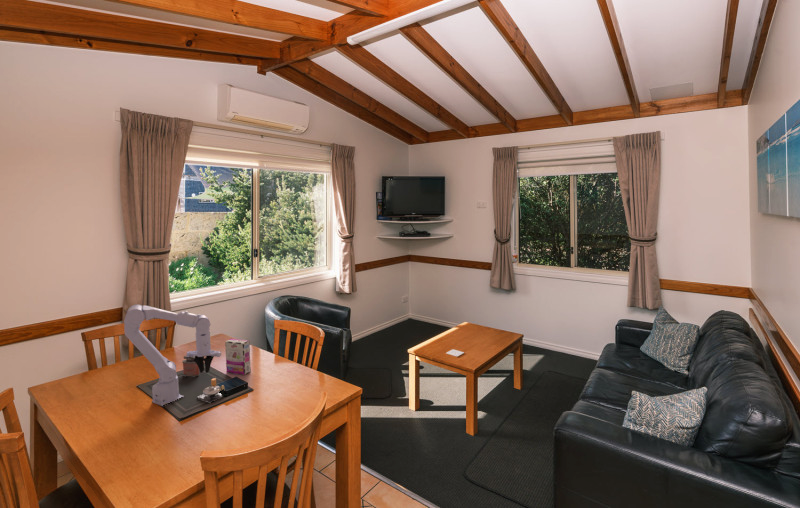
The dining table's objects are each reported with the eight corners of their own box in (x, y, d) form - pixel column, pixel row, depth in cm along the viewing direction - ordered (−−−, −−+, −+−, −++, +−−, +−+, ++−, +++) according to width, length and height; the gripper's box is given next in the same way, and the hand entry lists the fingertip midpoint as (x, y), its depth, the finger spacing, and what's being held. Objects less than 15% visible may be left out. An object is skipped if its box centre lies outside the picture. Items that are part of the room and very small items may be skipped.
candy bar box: (251, 371, 203) (250, 340, 201) (244, 375, 199) (243, 343, 197) (232, 368, 207) (231, 337, 205) (226, 372, 202) (224, 341, 200)
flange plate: (218, 394, 173) (218, 385, 173) (201, 396, 172) (200, 387, 171) (222, 386, 181) (222, 377, 181) (206, 387, 180) (205, 378, 179)
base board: (210, 403, 170) (209, 393, 170) (197, 399, 174) (196, 389, 174) (227, 395, 178) (226, 385, 178) (214, 391, 182) (213, 381, 181)
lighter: (201, 374, 199) (200, 355, 198) (197, 377, 196) (196, 357, 195) (185, 373, 200) (184, 354, 199) (181, 376, 197) (180, 356, 196)
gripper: (182, 345, 174) (183, 375, 176) (215, 345, 175) (217, 375, 176) (190, 340, 181) (192, 368, 183) (222, 340, 182) (223, 369, 183)
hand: (204, 371), depth 180 cm, fingers closed
